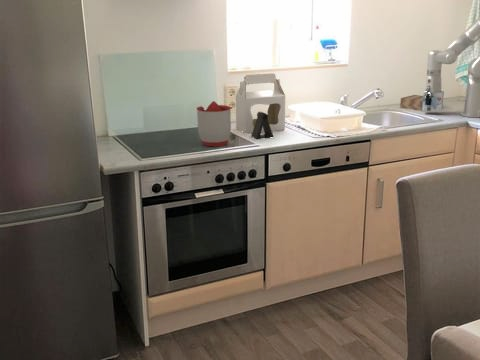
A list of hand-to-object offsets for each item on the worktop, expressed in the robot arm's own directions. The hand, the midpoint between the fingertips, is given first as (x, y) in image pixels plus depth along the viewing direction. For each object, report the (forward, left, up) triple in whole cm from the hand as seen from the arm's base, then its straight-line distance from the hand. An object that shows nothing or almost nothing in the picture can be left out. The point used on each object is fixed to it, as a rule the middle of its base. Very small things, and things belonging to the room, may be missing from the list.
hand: (432, 103), depth 317 cm
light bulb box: (0, 0, -4) cm, 4 cm away
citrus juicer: (+38, +132, -6) cm, 138 cm away
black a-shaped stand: (+31, +107, -6) cm, 112 cm away
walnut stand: (+15, -13, -6) cm, 20 cm away
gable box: (+44, +95, -6) cm, 105 cm away
